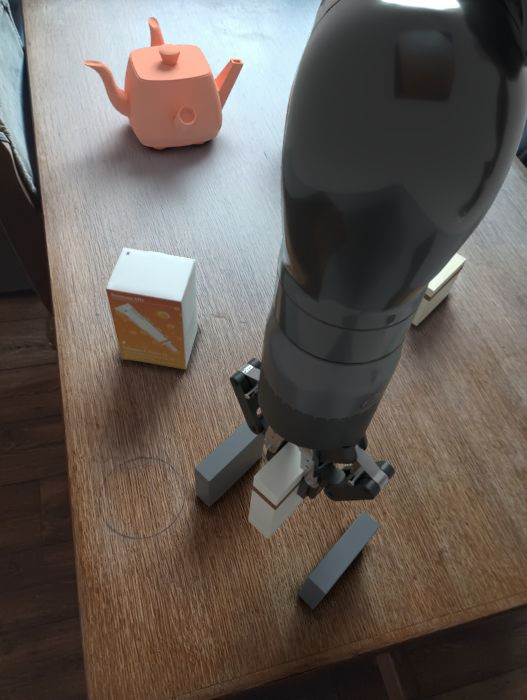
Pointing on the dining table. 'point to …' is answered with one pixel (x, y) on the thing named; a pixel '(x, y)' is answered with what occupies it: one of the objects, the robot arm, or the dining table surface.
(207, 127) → the teapot
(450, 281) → the cream books
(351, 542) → the grey parallel blocks
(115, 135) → the dining table surface
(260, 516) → the white box
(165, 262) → the small box
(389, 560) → the dining table surface
